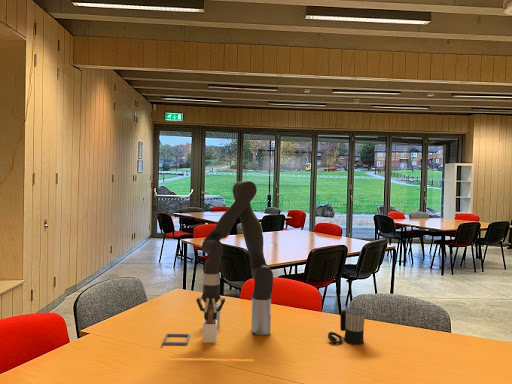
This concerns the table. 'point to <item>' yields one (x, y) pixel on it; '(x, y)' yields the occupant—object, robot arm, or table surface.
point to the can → (218, 317)
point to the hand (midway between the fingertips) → (210, 319)
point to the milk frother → (350, 326)
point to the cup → (209, 332)
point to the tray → (176, 342)
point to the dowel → (210, 314)
